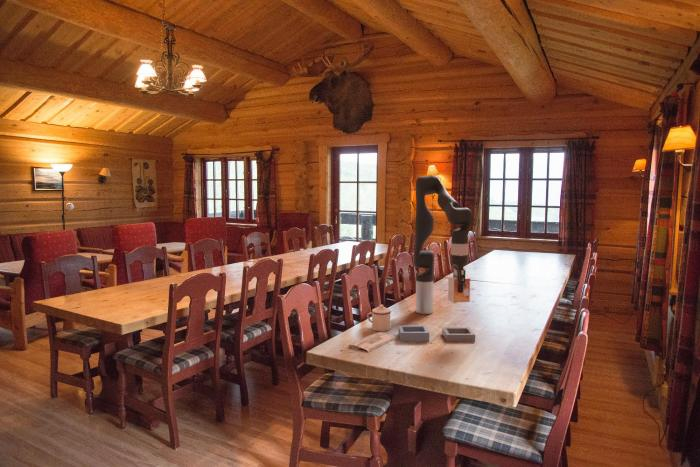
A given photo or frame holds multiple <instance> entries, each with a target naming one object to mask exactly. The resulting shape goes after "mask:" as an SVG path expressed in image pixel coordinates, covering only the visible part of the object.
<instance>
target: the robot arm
mask: <svg viewBox="0 0 700 467" xmlns="http://www.w3.org/2000/svg"><path fill="white" fill-rule="evenodd" d="M414 188H415V201H416V202H415V203H416V204H415V205H416V206H415V221H414V223H415V225H414V227H415V228H414V231H415V232H414V249H413V256H412V257H413V258H412V263H413V266H414V267H415V268H418V269H425V270H424V271H422V272H420V273H417V274H416V275H415V312H416V313H417V314H422V315H429V314H433V313H434V279H435V278H434V272H435V270H434V269H435V268H434V265H435V253H434V251H433V250H422V248H423V246H424V243H425V242H426V241H427V240H428V239H429V237H430V236H431V235H432V233H433V231H434V223H435V222H434V221H435V220H434V215H433V213H432V211H431V210H430V209H429V207H428V206H427V204H426V196H429V195H434V194H435V195H437V198H436V199H437V200H436V201H437V205H438V207H439V208H440V209H441V210H442V211H443V212H444V213H445V216H446V219H447V221H448V222H449V223H450V224H452V225H459V227H458V228H455V229H453V230H452V231H451V241H450V243H451V244H450V264H451V265H452V268H453V270H452V271H453V272H452V274H453V275H452V277H456V279H458V292H459V293H463V284H465V277H466V270H465V268H464V266H466V265H468V264H469V243H468V242H469V233H470V232H469V231H470V229H471V225H472V221H473V212H472V210H471V209H470V208H468V207H460V204H459V203H458V201H457V200H456V199H454V197H453V196H451V195H450V193H449V192H448V191H447V189H446V187H445V186H444V184H443V183H442V182H441V180H440V178H439V177H438V176H437V175H436V174H435V175H433V174H430V175H425V176H423V175H422V176H419V177H417V178H416V181H415V187H414ZM461 279H462V281H461Z"/></svg>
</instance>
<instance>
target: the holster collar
mask: <svg viewBox="0 0 700 467" xmlns="http://www.w3.org/2000/svg"><path fill="white" fill-rule="evenodd" d="M441 334H442V336H443V338H444V340H445V342H476V334H475V332H474V331H473V330H472V329H471V327H470V326H465V327H463V326H462V327H458V326H457V327H454V326H453V327H452V326H451V327H447V326H446V327H442V328H441Z"/></svg>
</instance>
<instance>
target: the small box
mask: <svg viewBox="0 0 700 467" xmlns="http://www.w3.org/2000/svg"><path fill="white" fill-rule="evenodd" d="M447 280H448V282H447V283H448V284H447V285H448V286H447V287H448V289H447V291H448V292H447V300H448V301H449V302H452V303H470V301H471V298H470V297H471V278H469V277H468V276H465V284H463V293H459V292H458V279H456V277H453V276H451V277H448V279H447ZM461 281H462V279H461Z"/></svg>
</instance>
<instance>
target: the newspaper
mask: <svg viewBox="0 0 700 467" xmlns="http://www.w3.org/2000/svg"><path fill="white" fill-rule="evenodd" d="M397 339H398V337H396V336H394V335H391V334H389V333H386V332H383V331H376V332H373V333H371V334H369V335H367V336H365V337H363V338H360V339H359V340H357V341H355V342H353V343H351V344H348V347H349V348H352V349H355V350H356V349H357V350H358V349H363V350H364V351H367V352H368V353H370V352H372V351H374V350H377V349H379V348H381V347H383V346H385V345H387V344H389V343H391V342H393V341H394V340H397Z"/></svg>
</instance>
